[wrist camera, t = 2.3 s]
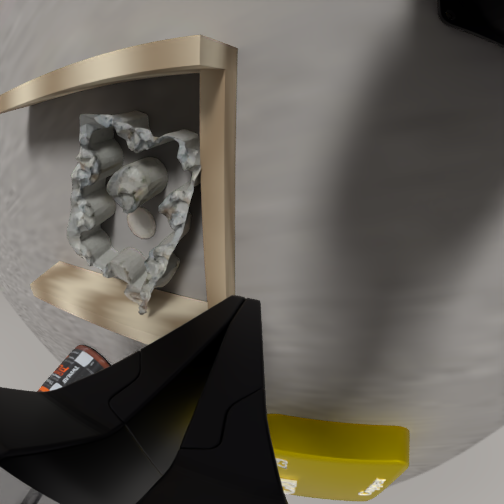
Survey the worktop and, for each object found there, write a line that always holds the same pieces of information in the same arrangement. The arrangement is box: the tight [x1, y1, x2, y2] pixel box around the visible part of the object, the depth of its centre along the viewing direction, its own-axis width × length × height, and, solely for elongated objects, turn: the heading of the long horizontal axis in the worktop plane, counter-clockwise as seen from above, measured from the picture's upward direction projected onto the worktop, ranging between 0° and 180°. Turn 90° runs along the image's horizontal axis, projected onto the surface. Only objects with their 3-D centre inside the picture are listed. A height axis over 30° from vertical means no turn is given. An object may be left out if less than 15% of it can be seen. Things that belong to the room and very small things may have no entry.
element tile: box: [267, 414, 409, 501], centre depth 25 cm, size 15×15×5 cm
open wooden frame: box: [0, 35, 238, 345], centre depth 16 cm, size 17×16×4 cm
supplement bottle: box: [37, 345, 110, 392], centre depth 26 cm, size 6×6×11 cm
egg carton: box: [67, 111, 201, 315], centre depth 16 cm, size 11×8×4 cm
